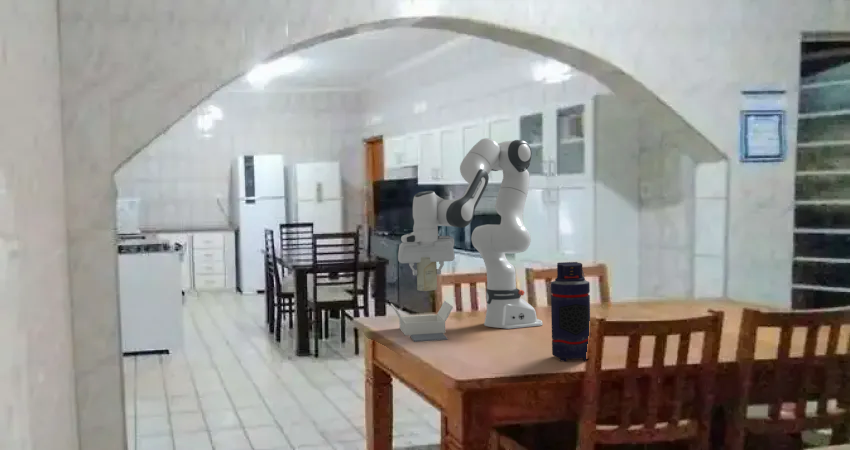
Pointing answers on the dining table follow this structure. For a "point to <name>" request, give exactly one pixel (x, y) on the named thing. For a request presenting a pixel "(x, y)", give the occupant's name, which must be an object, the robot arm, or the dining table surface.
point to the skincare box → (426, 275)
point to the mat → (428, 337)
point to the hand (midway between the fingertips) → (426, 274)
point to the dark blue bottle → (570, 312)
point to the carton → (425, 321)
